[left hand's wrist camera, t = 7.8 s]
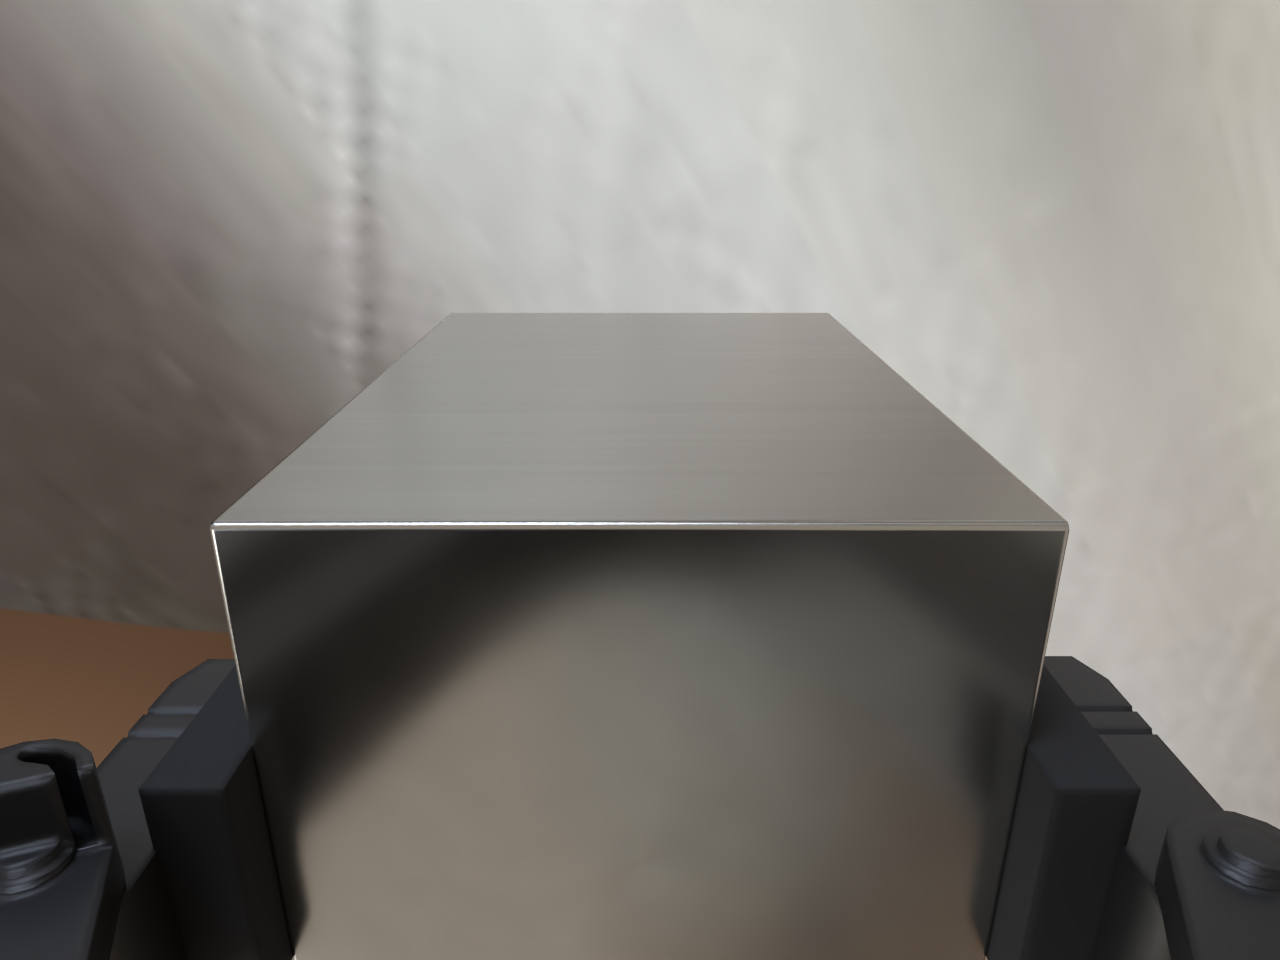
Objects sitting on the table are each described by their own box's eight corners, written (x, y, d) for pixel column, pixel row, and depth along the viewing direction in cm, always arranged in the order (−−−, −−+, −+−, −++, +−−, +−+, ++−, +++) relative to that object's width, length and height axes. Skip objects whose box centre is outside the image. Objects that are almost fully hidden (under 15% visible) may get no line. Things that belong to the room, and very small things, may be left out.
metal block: (804, 643, 19) (958, 1112, 10) (475, 643, 19) (320, 1112, 10) (829, 312, 17) (1074, 522, 7) (449, 312, 17) (204, 523, 7)
